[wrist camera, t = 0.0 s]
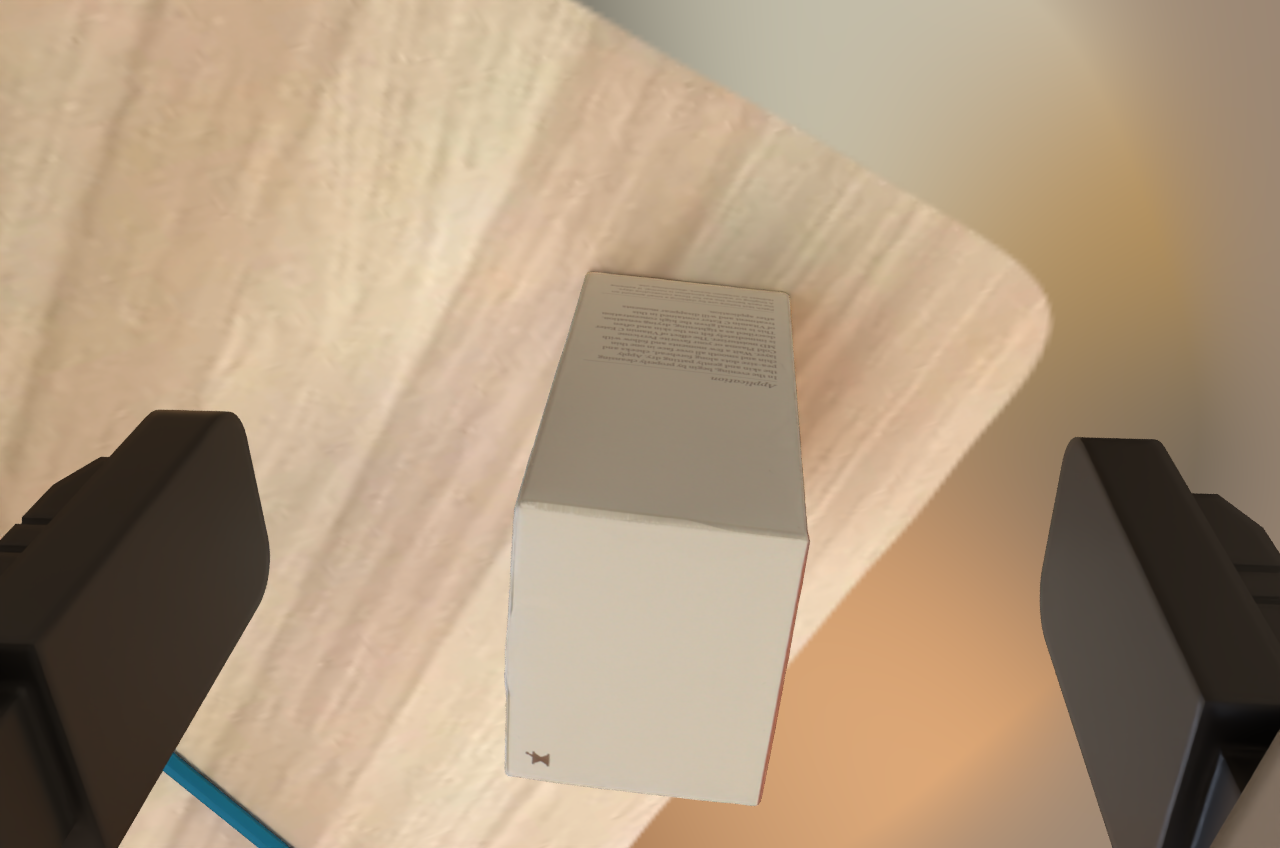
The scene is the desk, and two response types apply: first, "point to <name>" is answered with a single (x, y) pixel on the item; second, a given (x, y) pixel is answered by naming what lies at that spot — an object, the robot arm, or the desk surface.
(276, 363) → the desk surface
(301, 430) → the desk surface
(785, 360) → the small box
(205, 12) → the desk surface
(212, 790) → the pencil
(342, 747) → the desk surface
